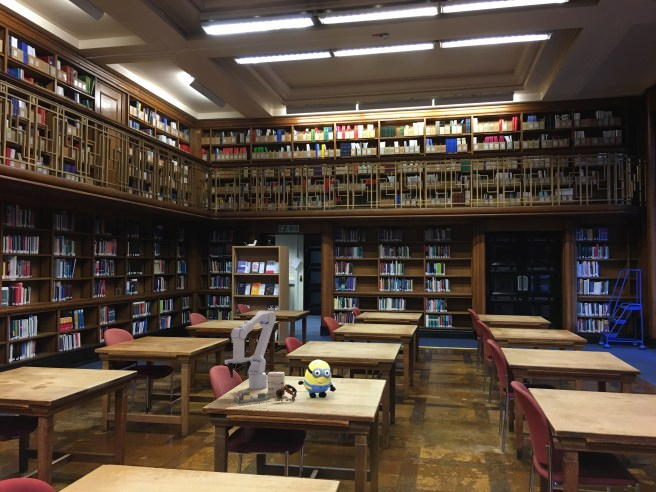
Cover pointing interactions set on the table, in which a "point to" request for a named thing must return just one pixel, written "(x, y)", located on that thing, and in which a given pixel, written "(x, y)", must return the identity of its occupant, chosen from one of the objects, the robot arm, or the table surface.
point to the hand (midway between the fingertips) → (238, 376)
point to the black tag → (261, 395)
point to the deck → (235, 394)
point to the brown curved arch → (286, 389)
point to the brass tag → (246, 397)
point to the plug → (243, 394)
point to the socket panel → (252, 399)
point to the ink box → (275, 381)
